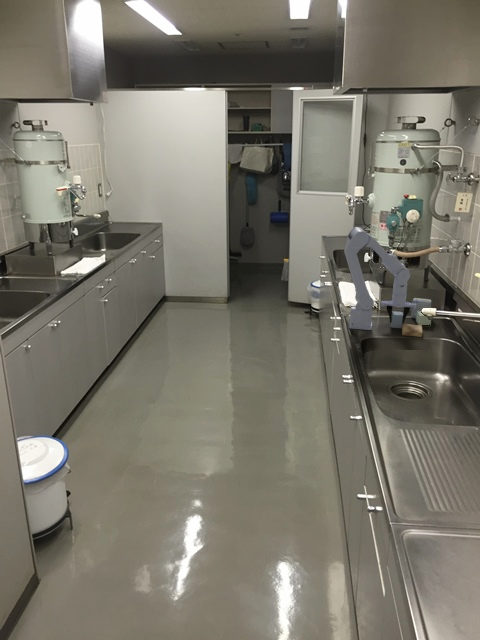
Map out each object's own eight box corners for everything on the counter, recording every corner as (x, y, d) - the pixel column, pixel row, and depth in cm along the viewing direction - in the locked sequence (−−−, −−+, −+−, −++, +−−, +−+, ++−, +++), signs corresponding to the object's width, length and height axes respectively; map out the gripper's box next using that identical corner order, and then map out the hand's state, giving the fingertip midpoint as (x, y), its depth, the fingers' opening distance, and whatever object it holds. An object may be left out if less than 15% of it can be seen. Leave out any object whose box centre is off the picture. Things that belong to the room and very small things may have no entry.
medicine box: (429, 317, 241) (431, 299, 238) (428, 320, 237) (430, 302, 234) (412, 314, 244) (413, 297, 241) (410, 318, 240) (412, 300, 237)
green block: (418, 325, 232) (419, 315, 230) (415, 320, 237) (417, 310, 235) (430, 326, 231) (431, 315, 229) (427, 321, 237) (428, 310, 235)
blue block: (391, 327, 230) (392, 314, 228) (391, 323, 234) (392, 311, 232) (401, 328, 229) (402, 315, 227) (401, 324, 233) (402, 312, 231)
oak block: (402, 335, 222) (402, 330, 221) (402, 328, 229) (402, 323, 229) (421, 336, 220) (422, 332, 219) (421, 329, 227) (421, 325, 226)
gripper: (382, 295, 224) (379, 324, 229) (417, 297, 221) (413, 327, 226) (382, 290, 231) (380, 318, 236) (416, 292, 227) (413, 321, 232)
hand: (396, 322), depth 231 cm, fingers closed on blue block, 4 cm apart
